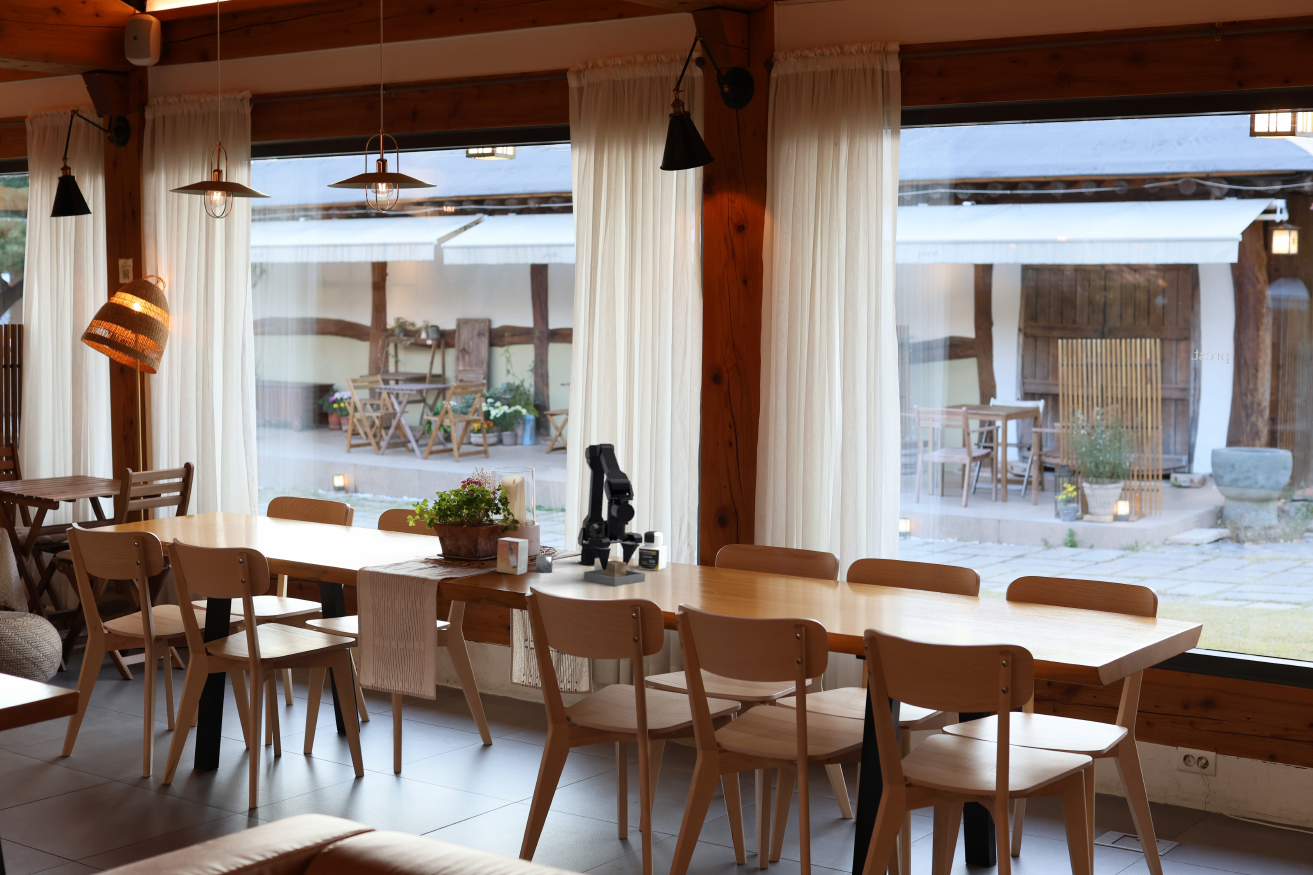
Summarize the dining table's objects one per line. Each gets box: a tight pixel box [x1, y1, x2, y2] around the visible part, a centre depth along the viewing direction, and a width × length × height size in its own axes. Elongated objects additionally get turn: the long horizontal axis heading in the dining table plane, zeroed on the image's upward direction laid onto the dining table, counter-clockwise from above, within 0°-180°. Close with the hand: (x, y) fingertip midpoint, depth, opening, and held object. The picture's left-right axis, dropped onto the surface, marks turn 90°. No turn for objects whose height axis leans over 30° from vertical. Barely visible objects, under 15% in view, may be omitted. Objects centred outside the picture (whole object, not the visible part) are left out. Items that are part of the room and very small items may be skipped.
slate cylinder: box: [535, 554, 553, 574], centre depth 406 cm, size 5×5×5 cm
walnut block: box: [603, 559, 627, 578], centre depth 395 cm, size 5×5×5 cm
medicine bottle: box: [637, 530, 668, 572], centre depth 418 cm, size 7×7×12 cm
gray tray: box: [583, 569, 646, 587], centre depth 395 cm, size 13×13×2 cm
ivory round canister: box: [593, 557, 612, 570], centre depth 404 cm, size 5×5×5 cm
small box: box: [496, 536, 529, 576], centre depth 402 cm, size 8×6×10 cm
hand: (614, 567), depth 395 cm, fingers open, 9 cm apart
